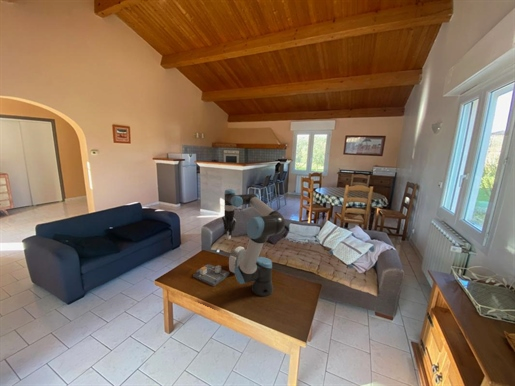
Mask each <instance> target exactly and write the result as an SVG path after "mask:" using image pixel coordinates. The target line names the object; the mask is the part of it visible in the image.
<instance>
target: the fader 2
mask: <svg viewBox="0 0 515 386" xmlns="http://www.w3.org/2000/svg"><path fill="white" fill-rule="evenodd" d="M221 269H222V265H220V264H218V265H216V266H215V273H219V272H221Z"/></svg>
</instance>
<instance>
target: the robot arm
mask: <svg viewBox="0 0 515 386" xmlns="http://www.w3.org/2000/svg"><path fill="white" fill-rule="evenodd" d="M244 205H246V206H247V205H249V206H250V207H251V208H253V209H254V210H255V211H256V212H258V213H259V215H261V216H254V217H251V218H250V219H249V220H248V221H247V223H246V234H247V237H248V238H249V240H248V243H247V247H246V249H245V250H246V253H245V256H244V259H243V260H242V261H241V262H240V264H239V266H236V267H235V269H234V271H235V273H234V276H235V279H236V281H237V283H238V284H239V285H243V284H244V285H245V284H247V283H250V282H253V283H252V285H251V291H252V292H253V294H255V295H257V296H260V297H267V296H270V295H271V294H273V292H274V285H273V282H272V273H273V261H272V260H271V259H270V258H268V257H265V256H260V254H261V251H262V249H263V246H264V244H265V243H267V241H268V239H269V237H270V236H275V235H279V234H280V233H282V232H283V231H284V229H285V226H286V220H285V217H284V215H283V214H282V213H281V212H279V211H278V210H274V209H273V208H271V207H270V206H269V205H267V204H266V203H265V202H264V201H262V200H261V199H260V196H259V194H258V193H246V194H236V191H235V189H225V190H224V216H223V217H221V220H222V222H223V228H224V230H225V231H226V239H227V240H230V239H232V234H233V232H234V230H235V227H236V223H237V221H238V220H237V219H236V218H235V207H236V208H238V207H242V206H244Z"/></svg>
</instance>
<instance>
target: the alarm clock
mask: <svg viewBox="0 0 515 386" xmlns="http://www.w3.org/2000/svg"><path fill="white" fill-rule="evenodd" d="M245 253H246V249H245V247H243V246H237V247H236V246H235V248H233V249H232V251H230V254H229V256H228V269H229V271H230V272H231V273H233V274H235V271H234V269H235V267H236V266H239V264H240V262H241V261H242V260H243V259H244V256H245Z"/></svg>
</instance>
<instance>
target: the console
mask: <svg viewBox="0 0 515 386" xmlns="http://www.w3.org/2000/svg"><path fill="white" fill-rule="evenodd" d="M204 266H205V267H207V273H206V274H204V275H202V274H200V268H199V269H198V270H196V272H195V273H193V275H192V276H193V278H194V279H197V280H199V281H201V282H203V283H205V284H208V285H210V286H212V287H215V286H217V285H218V284H220V283H221V282H222V281H224V280H225V279H226V278H227V277H228V276H230V275H231V274H230V272H231V271H230V272H229V271H227V270H224V269H222V268H221V272H219V273H215V267H216V266H215V265H212V264H205V265H204Z"/></svg>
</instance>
